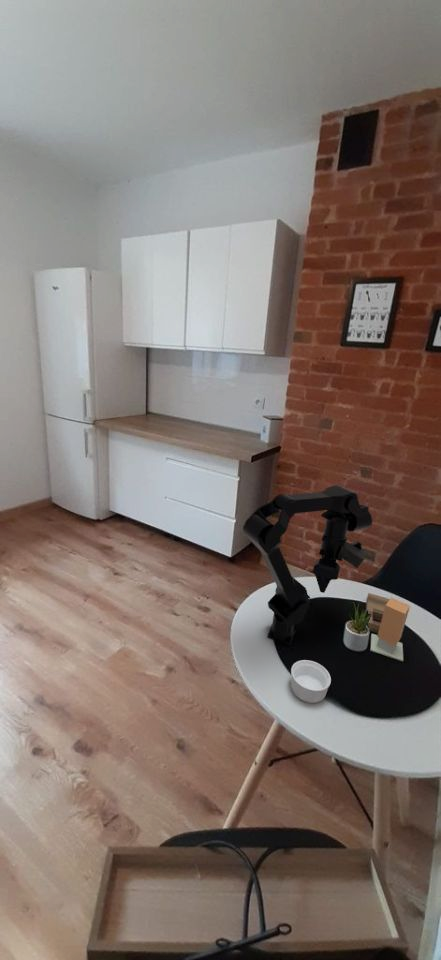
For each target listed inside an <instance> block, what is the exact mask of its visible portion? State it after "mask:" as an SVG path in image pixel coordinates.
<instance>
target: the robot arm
mask: <svg viewBox="0 0 441 960" xmlns="http://www.w3.org/2000/svg"><path fill="white" fill-rule="evenodd" d="M323 511H324V512H323ZM278 512H280V514H279V517H278V520H277V521H276V522H275V523H274V524H273V523H272V522H271V521H269V520H267V518H268V517H270V516H272V515H274V514H277V513H278ZM315 512H322V514H320V517H322V518H324V519H325V524H324V529H323V534H322V536H321V537H322V538H321V545H320V549H319V552H318V555H320V556H321V557H319V558H318V559H316V560H315V562H314V565H313V569H312V573H313V574H314V577H315V579H316V582H317V584H318V589H319V592H320V593H322V594H325V592H326V590H327V588H328V586H329V584H330V582H331V581H332V580H335V581H336V580H338V578H339V575H340V571H341V565H339V563H338V562H337V561H340V562H342V561H343V560H344V561H345V562H348V563H349V564H350V565H352V566H353V567H354V568H355V569H356V568H357V569H358V568H359V567H360V566H361V565H362V563H363V562H364V561H365V559H366V551H365V550H364V549H363V548H362V547H363V543H362V542H360V541H358V540H357V541H353V543H352V542H350V543H349V542H348V541H347V540H348V537H347V534H348V533H347V532H355V531H362V530H366V529H370V528H371V526H372V524H373V519H372V515H371V512H369V506H368V505H366V504H363V503H362V504H360V502H359V497H358V493H356V492H353V491H352V490H349V489H348V488H345V487H344V486H343V487H342V486H341V485H339V484H336V485H335V484H334V485H332V486H329V487H325V488H324V490H321V491H317V492H304V493H291V494H284V493H280V494H277V495H276V496H275V497H274V498H273V499H272V500H271V501H269V502H267V503H266V504H263V505H261V506H259V507H258V508H257V509H255V511H254V512H253V513H252V514H251V515H250V516H249V517H248V518H247V519H246V521H245V522H244V524H243V527H242V530H243V533H244V534H245V536H246V537H247V538H248V539H249V540H250V541H251V542H252V544H253V545H254V546H255V547H256V548H257V549H258V550H259V552H260V553H261V556H262V557H263V560H264V562H265V564H266V567H267V568H268V571H270V572H269V573H270V574H271V577H272V578H273V580H274V583H275V585H276V588H275V590H274V591H275V594H274V595H273V596H272V597H271V598H270V599H269V600H268V602H267V606H268V609H270V610H271V611H272V612H273V617H272V621H271V622H272V623H271V625H270V628H269V630H268V633H267V634H266V635H267V636H266V637H267V638H268V639H271V640H274V641H277V642H280V643H282V642H283V643H282V644H285V643H286V645H288V646H290V645H292V643H293V642H292V641H293V639H294V636H295V633H296V629H295V628H294V626H295V625H298V624H300V623H302V622H303V620H304V617H305V615H306V613H307V612H308V609H309V606H310V598H311V596H310V595H309V594H308V590H307V588H306V587H305V586H304V585H303V584H301V582H300V581H298V580H297V579H296V578H295V577H293V575H292V574H291V571H290V569H289V567H288V565H287V562H286V560H285V558H284V556H283V553H282V551H281V549H280V546H281V543H282V539H281V538H282V536H283V535H284V534H285V533H286V531H288V527H289V524H290V521H291V519H292V517H293V516H294V515H296V514H304V513H315Z"/></svg>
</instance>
